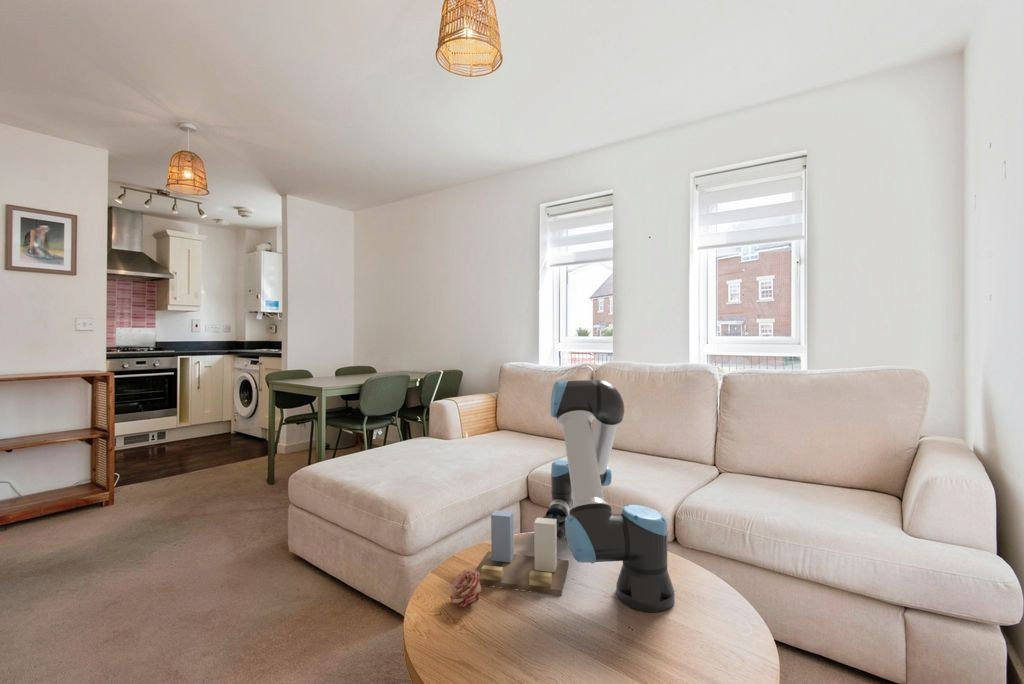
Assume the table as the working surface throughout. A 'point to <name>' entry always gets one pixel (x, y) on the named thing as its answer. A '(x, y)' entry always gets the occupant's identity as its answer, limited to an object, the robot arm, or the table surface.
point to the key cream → (545, 544)
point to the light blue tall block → (502, 536)
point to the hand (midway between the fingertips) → (546, 544)
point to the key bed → (523, 574)
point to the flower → (466, 587)
